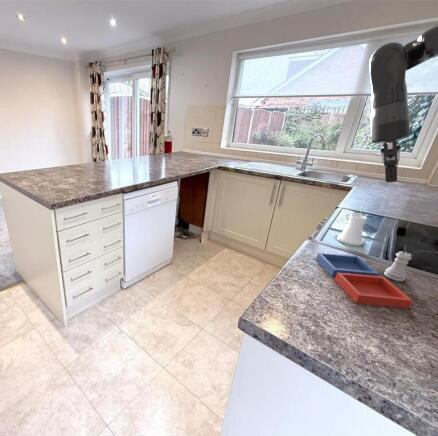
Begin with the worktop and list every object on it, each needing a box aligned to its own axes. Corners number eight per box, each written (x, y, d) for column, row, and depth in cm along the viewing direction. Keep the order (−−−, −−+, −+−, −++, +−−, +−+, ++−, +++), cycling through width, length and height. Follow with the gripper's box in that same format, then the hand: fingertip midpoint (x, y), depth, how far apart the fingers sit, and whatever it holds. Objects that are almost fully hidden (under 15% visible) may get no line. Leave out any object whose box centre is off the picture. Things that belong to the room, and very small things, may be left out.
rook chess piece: (400, 275, 72) (411, 251, 69) (407, 283, 68) (420, 259, 65) (380, 271, 73) (391, 248, 70) (386, 279, 70) (398, 255, 67)
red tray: (380, 284, 68) (383, 276, 67) (408, 308, 59) (413, 300, 58) (334, 279, 69) (337, 272, 68) (355, 303, 60) (359, 295, 60)
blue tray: (355, 262, 78) (357, 255, 77) (376, 281, 69) (379, 273, 68) (315, 259, 79) (318, 252, 78) (331, 276, 71) (334, 269, 70)
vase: (341, 234, 96) (350, 211, 93) (365, 242, 91) (375, 217, 87) (333, 239, 92) (341, 215, 89) (357, 247, 87) (367, 222, 83)
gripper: (410, 113, 60) (412, 180, 61) (408, 123, 70) (410, 180, 71) (369, 123, 65) (371, 184, 66) (372, 130, 75) (374, 183, 76)
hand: (391, 181), depth 69 cm, fingers open, 8 cm apart
